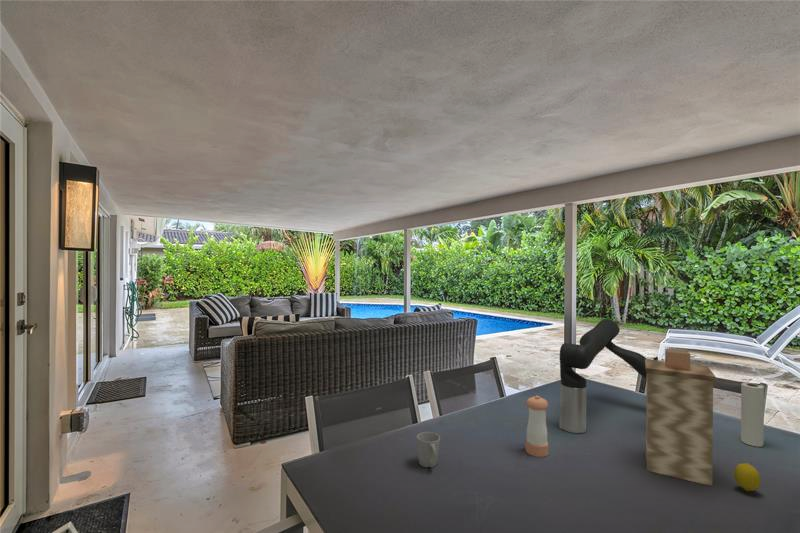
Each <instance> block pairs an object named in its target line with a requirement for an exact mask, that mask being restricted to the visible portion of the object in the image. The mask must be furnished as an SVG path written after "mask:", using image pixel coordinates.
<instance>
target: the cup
mask: <svg viewBox="0 0 800 533" xmlns="http://www.w3.org/2000/svg"><path fill="white" fill-rule="evenodd" d="M415 437H416V446H417V455H418V456H417V457H418V463H419V465H420V466H421V467H423V468H428V467H430V468H434V467H436V466H437V464H438V457H439V452H440V444H441V443H440V442H441V436H440V435H439V434H438V433H435V432H432V431H423V432H420V433H418V434H417V435H416V436H415Z"/></svg>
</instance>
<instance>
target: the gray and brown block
mask: <svg viewBox="0 0 800 533" xmlns="http://www.w3.org/2000/svg"><path fill="white" fill-rule="evenodd" d="M664 350H665V351H664V358H665V359H664V361H665V365H666V368H673V369H681V370H690V364H691V353H690V351H688V350H683V349H682V350H681V349H673V348H664Z"/></svg>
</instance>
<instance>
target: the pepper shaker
mask: <svg viewBox="0 0 800 533" xmlns="http://www.w3.org/2000/svg"><path fill="white" fill-rule="evenodd" d="M526 406H527V408H528V421H527V426H526V439H525V452H526V454H528V455H529V456H532V457H537V458H543V457H547V456H548V455H549V442H548V428H547V422H546V421H547V414H546V412H547V410H548V408H549V403H548V401H547V399H545V398H542V397H540V396H539V395H535V396H532V397H528V399H527V400H526Z"/></svg>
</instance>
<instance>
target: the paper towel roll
mask: <svg viewBox="0 0 800 533" xmlns="http://www.w3.org/2000/svg"><path fill="white" fill-rule="evenodd" d="M740 390H741V391H740V395H741V396H740V409H741V410H740V440H741V442H742V443H744V444H746V445H748V446H752V447H757V448H759V447H763V446H764V443H765V442H764V436H765V435H764V434H765V433H764V432H765V428H764V427H765V423H764V421H765V420H764V419H765V386H764V385H763V384H761V385H759V384H755V383H750V382H749V383H748V382H744V383H743V382H742V383H741V388H740Z"/></svg>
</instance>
